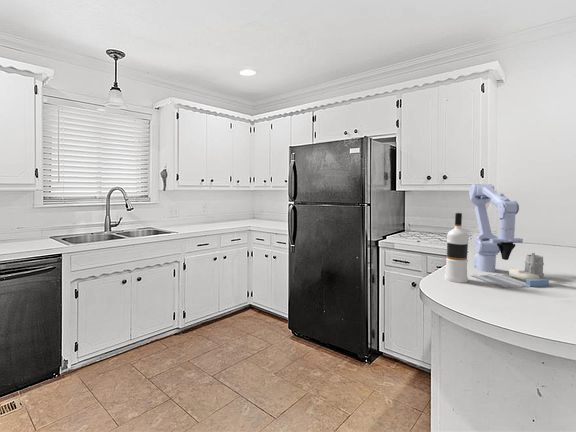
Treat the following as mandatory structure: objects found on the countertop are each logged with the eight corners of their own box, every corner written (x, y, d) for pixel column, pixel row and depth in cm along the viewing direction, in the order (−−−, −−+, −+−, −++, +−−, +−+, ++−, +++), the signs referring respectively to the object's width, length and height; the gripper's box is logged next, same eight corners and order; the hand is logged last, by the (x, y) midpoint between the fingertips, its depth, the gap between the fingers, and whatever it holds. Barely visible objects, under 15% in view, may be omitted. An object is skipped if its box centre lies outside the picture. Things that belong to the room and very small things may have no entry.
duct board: (470, 277, 157) (470, 270, 157) (513, 276, 160) (514, 269, 160) (503, 290, 138) (503, 281, 137) (552, 288, 141) (552, 280, 140)
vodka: (439, 280, 153) (441, 212, 151) (455, 278, 156) (458, 212, 154) (456, 285, 144) (459, 213, 142) (472, 283, 147) (476, 213, 145)
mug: (544, 276, 160) (546, 251, 159) (541, 281, 151) (543, 254, 151) (524, 274, 165) (526, 249, 164) (521, 278, 156) (522, 252, 155)
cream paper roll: (507, 272, 155) (513, 266, 155) (512, 278, 156) (518, 272, 156) (529, 279, 143) (535, 272, 143) (535, 286, 144) (541, 279, 144)
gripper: (498, 229, 146) (496, 261, 147) (529, 229, 148) (527, 260, 149) (486, 228, 153) (485, 258, 154) (516, 227, 155) (514, 257, 156)
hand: (505, 259), depth 152 cm, fingers closed
